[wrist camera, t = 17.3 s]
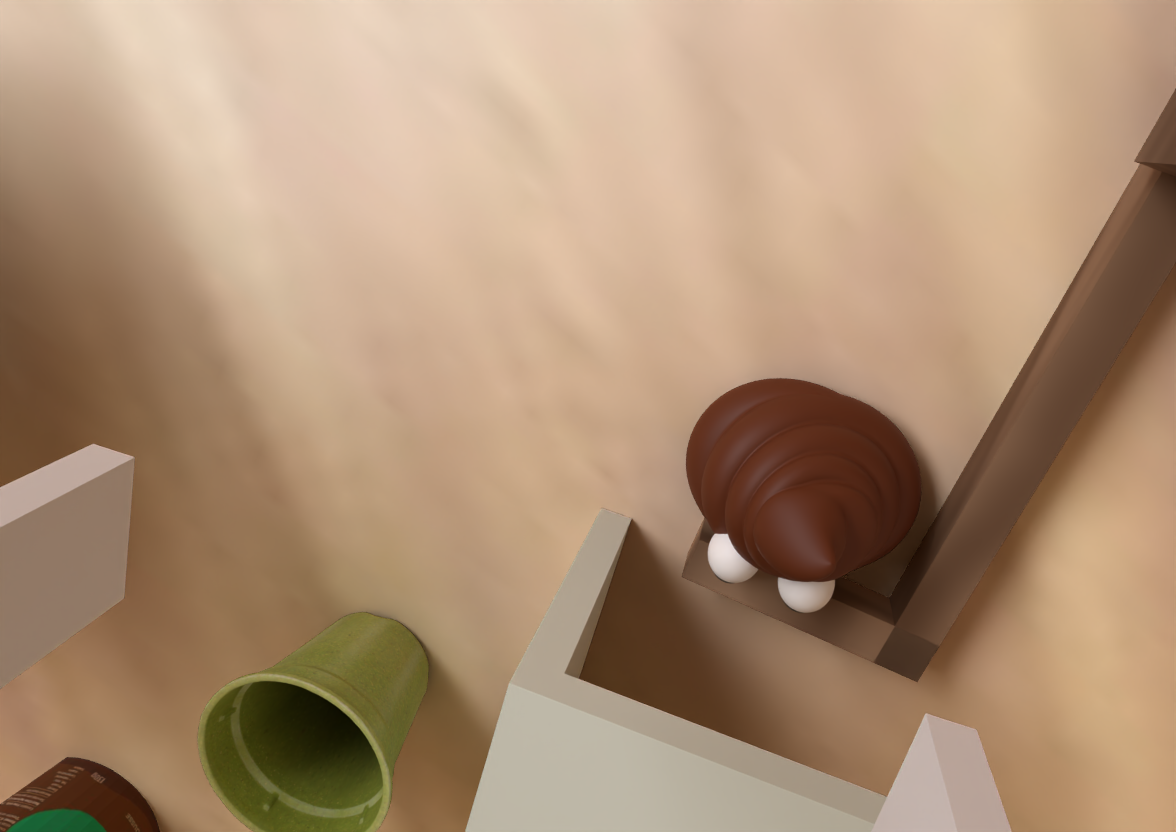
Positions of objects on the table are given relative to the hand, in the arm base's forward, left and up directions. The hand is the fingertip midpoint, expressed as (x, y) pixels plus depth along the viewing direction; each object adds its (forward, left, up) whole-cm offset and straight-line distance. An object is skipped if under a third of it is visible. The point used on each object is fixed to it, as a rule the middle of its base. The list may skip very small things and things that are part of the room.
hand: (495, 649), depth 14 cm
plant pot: (-10, -23, -27) cm, 36 cm away
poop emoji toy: (+7, -5, -27) cm, 28 cm away
